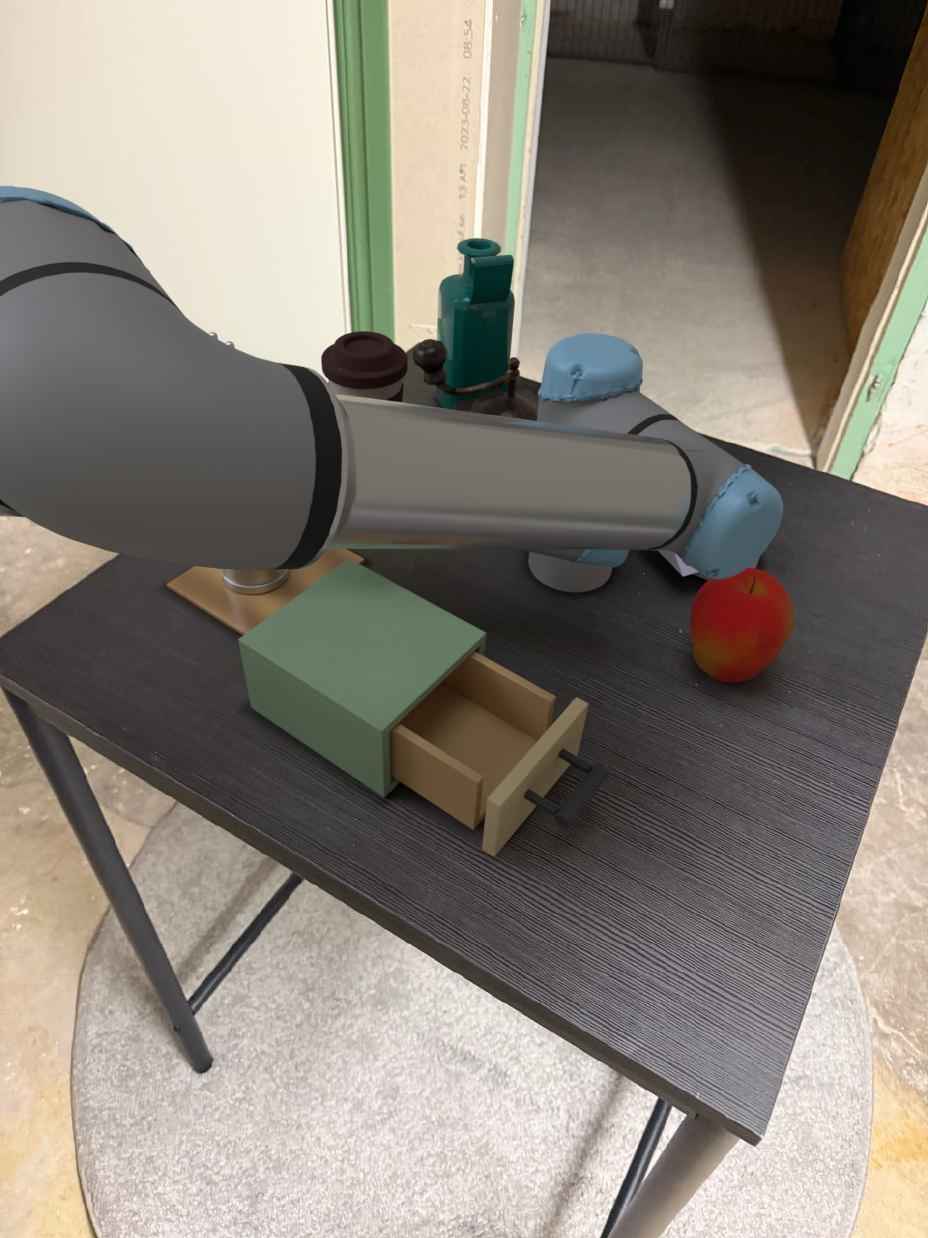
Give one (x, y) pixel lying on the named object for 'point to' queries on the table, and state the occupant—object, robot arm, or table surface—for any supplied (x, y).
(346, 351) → the coffee cup
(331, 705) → the cabinet
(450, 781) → the drawer
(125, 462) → the robot arm
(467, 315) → the teal bottle
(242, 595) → the wooden board
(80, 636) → the table surface
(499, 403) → the manual coffee grinder
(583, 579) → the cup
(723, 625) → the apple
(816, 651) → the table surface
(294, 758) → the table surface
